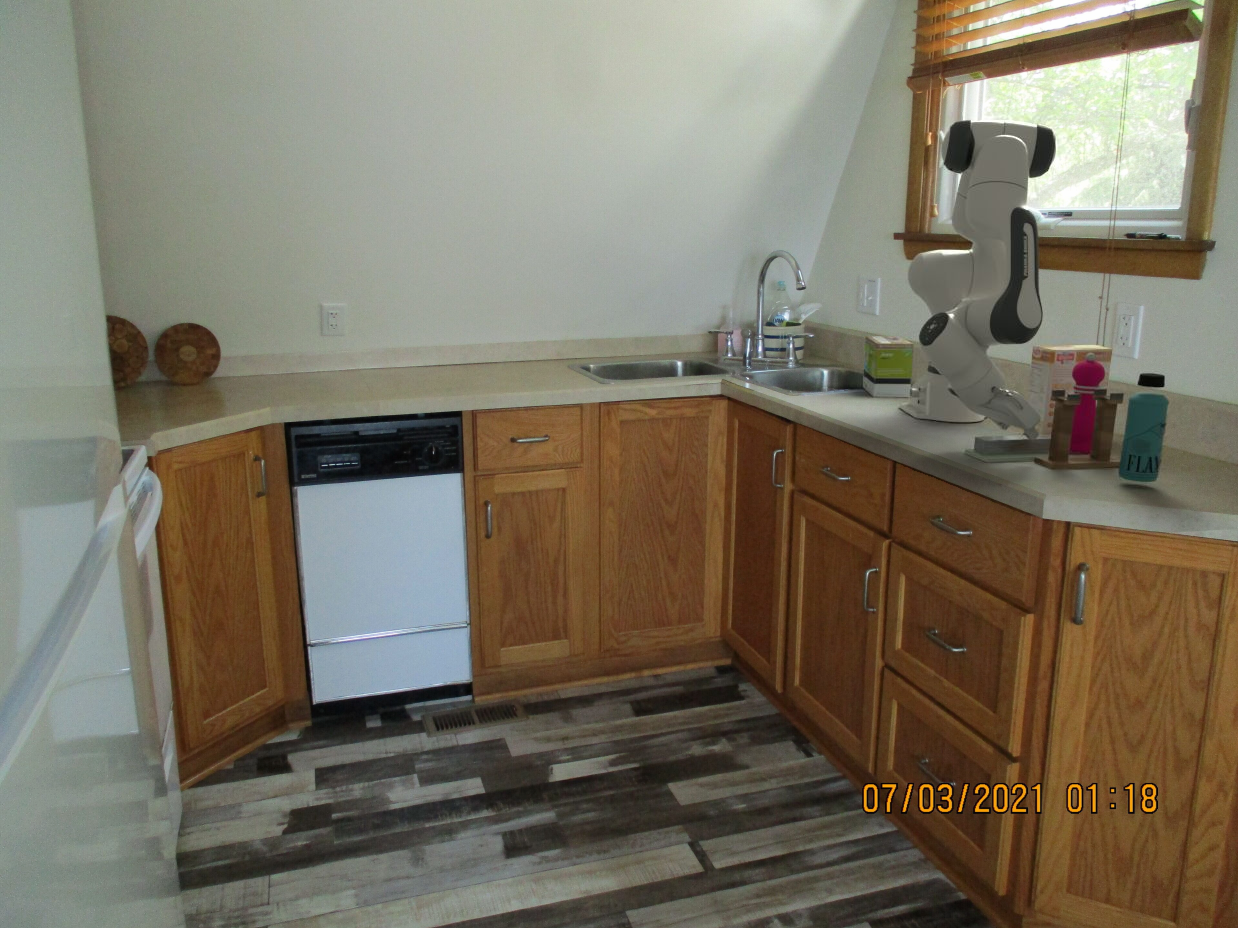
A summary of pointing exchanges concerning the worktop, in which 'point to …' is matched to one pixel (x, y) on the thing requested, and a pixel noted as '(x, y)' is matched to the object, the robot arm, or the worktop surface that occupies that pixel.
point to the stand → (1064, 430)
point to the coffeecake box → (1059, 376)
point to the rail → (1011, 445)
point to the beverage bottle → (1144, 431)
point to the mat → (1005, 457)
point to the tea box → (888, 366)
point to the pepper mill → (1085, 403)
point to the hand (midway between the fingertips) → (1020, 432)
